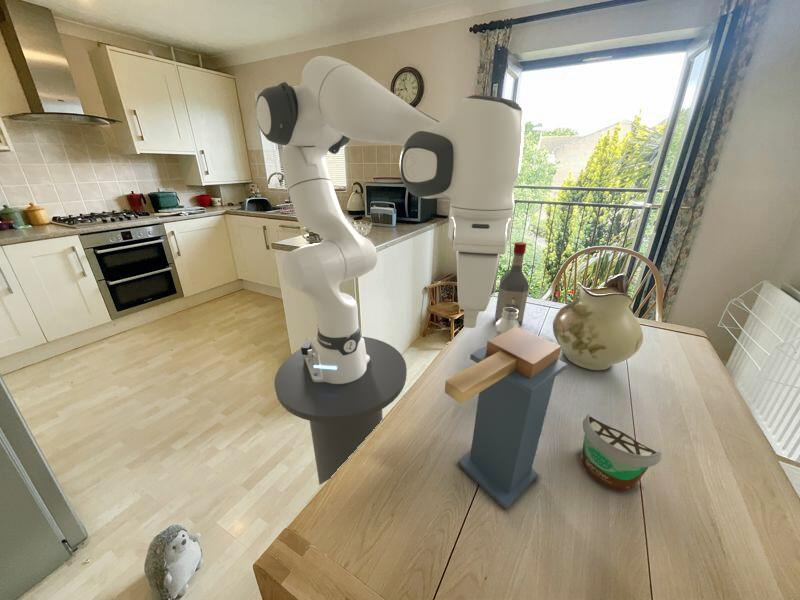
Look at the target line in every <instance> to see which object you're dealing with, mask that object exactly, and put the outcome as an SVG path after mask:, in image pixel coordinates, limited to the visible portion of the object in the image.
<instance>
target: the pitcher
mask: <svg viewBox="0 0 800 600" xmlns="http://www.w3.org/2000/svg"><path fill="white" fill-rule="evenodd" d="M576 285H577V287H578V289H579V293H580V295H579V297H577V298H576V299H575V300H572V301H571V302H569V303H567V304H566V305H564V306H562V307H561V308H560V309H559V310H558V311H557V313H556V314H555V316H554V319H553V321H552V332H553V336H554V339H555V341H556V342H557V344H558V345H560V346H561V349H562V351H563V353H564V356H565V357H566V359H567V360H568V361H570V362H571V363H572V364H574V365H576V366H578V367H581V368H583V369H586V370H592V371H605V370H608V369H610V367H612V366H613V365H617V364H619V363H620V364H621V363H622V362H625V361H627V360H629V359H630V358H632V357H634V355H636V354H637V353H638V352H639V350H640V348H641V347H642V344H643V342H644V332H643V329H642V326H641V324H640V322H639V320H638V318H637V317H636V316H635V314H634V311H633V308H631V306H630V305H631V304H632V303H633V297H631V295H629V294H627V293H628V290H629V288H630V287H629V286H630V281H629V278H628V277H627V276H626V275H625V274H623V273H619V274H616V275H615V276H613V277H611V278H610V279H609V280H608V281H607V282H606V283H605V284H604V285H603V286H602V287H596V288H589V287H585V286H583V285H582V284H581V282H579V281H577V282H576Z"/></svg>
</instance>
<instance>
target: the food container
mask: <svg viewBox="0 0 800 600" xmlns="http://www.w3.org/2000/svg"><path fill="white" fill-rule="evenodd" d="M591 414H592V412H589V413H587V414H586V416H585V417H584V418H583V420H582V429H583V433H584V436H583V442H582V448H581V456H580V462H581V464H582V467H583V469H584V470H585V472H586V473H587V474H588V476H590V477H591V478H592V479H593V480H594V481H596V482H597V483H599V484H600V485H602V486H603V487H606V488H608V489H611V490H613V491H619V492H627V491H630V490H633V489H634V488H635V487H636V486H637V484H638V482H639V481H641V479H642V477H643V476H644V475H645V473H646V472H647V471H648V469H649V468H650V467H653V466H656V465H658V464H659V463H660V462H661V460H662V454H663V453H662V452H661V451H662V449H659V450H658V452H657V451H656V450H654V449H652V448H650V447H648V446H645V445H644V444H643V443H641V442H638V441H637V440H636V439H634V438H632V437H631V436H630V435H628V434H627V433H625V432H623V431H621V430H619V429H617V428H614V427H612V426H610V425H607V424H605V423H603V422H601V421H600V420H598V419H596V418H594V417H592V416H591Z"/></svg>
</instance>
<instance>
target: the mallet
mask: <svg viewBox="0 0 800 600" xmlns="http://www.w3.org/2000/svg"><path fill="white" fill-rule="evenodd" d="M486 346H487V349H486V354H487V355H489V356H490V357H488V358H486V359H484V360H482V361H480V362H479V363H475V364H473V365H471V366H469V367H468V368H466V369H464V370H462V371H460V372H459V373H457V374H455V375H453V376H451V377H449V378H448V379H445V382H444V383H445V384H444V393H445V394H446V395H448V396H449V397H450V398H451V399H453V400H454V401H456V402H457V403H458V404H460V405H463V404H464V403H466V402H467V401H469V400H470V399H472V398H474V397H475V396H477V395H479V393H480V392H481V391H483V390H485V389H486V388H488V387H489V386H491V385H492V384H494V383H496V382H497V381H499V380H500V379H502V378H503V377H505V376H507V375H508V374H510V373H511V372H513V371H514V370H516V371H518V372H519V373H521V374H523V375H525V376H527V377H528V378H532V377H533V376H535V375H536V374H538V373H539V372H540V371H542V370H543V369H545V368H546V367H548V366H549V365H551V364H552V363H553V362H555V361H556V360H559V357H560V353H561V349H562V348H561V346H560V345H559V344H558V343H556V342H554V341H551V340H549V339H547V338H545V337H542V336H540V335H537V334H535V333H534V332H530V331H529V330H526V329H524V328H521V327H520V328H519V327H517V326H516V327H514V328H512V329H510V330H508V331H506V332H504V333H502V334H500V335H498V336H496V337H495V336H494V337H493V338H490V339H489V340H487V342H486Z"/></svg>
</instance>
